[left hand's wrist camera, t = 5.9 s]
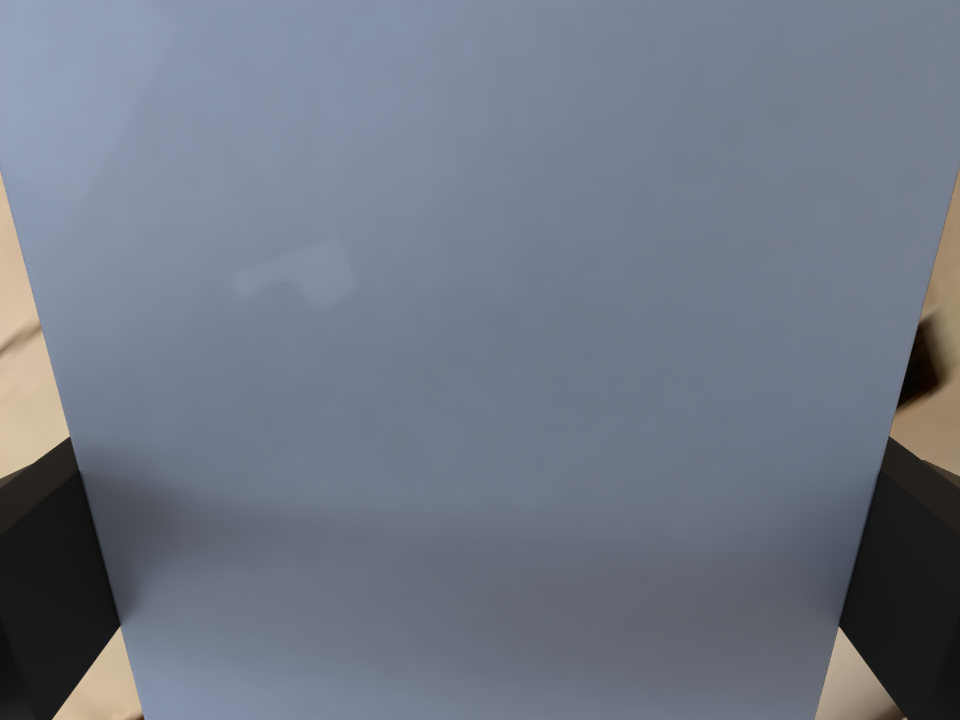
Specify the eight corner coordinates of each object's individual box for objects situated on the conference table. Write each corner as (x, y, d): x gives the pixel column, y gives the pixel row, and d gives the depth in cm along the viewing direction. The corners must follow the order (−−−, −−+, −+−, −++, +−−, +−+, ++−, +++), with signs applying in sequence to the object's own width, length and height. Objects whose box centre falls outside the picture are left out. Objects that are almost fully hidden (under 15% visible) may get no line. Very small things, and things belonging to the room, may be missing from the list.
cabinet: (212, -402, 12) (-574, -1977, 3) (746, -402, 12) (1535, -1985, 3) (307, 452, 19) (148, 745, 10) (652, 452, 19) (810, 745, 10)
